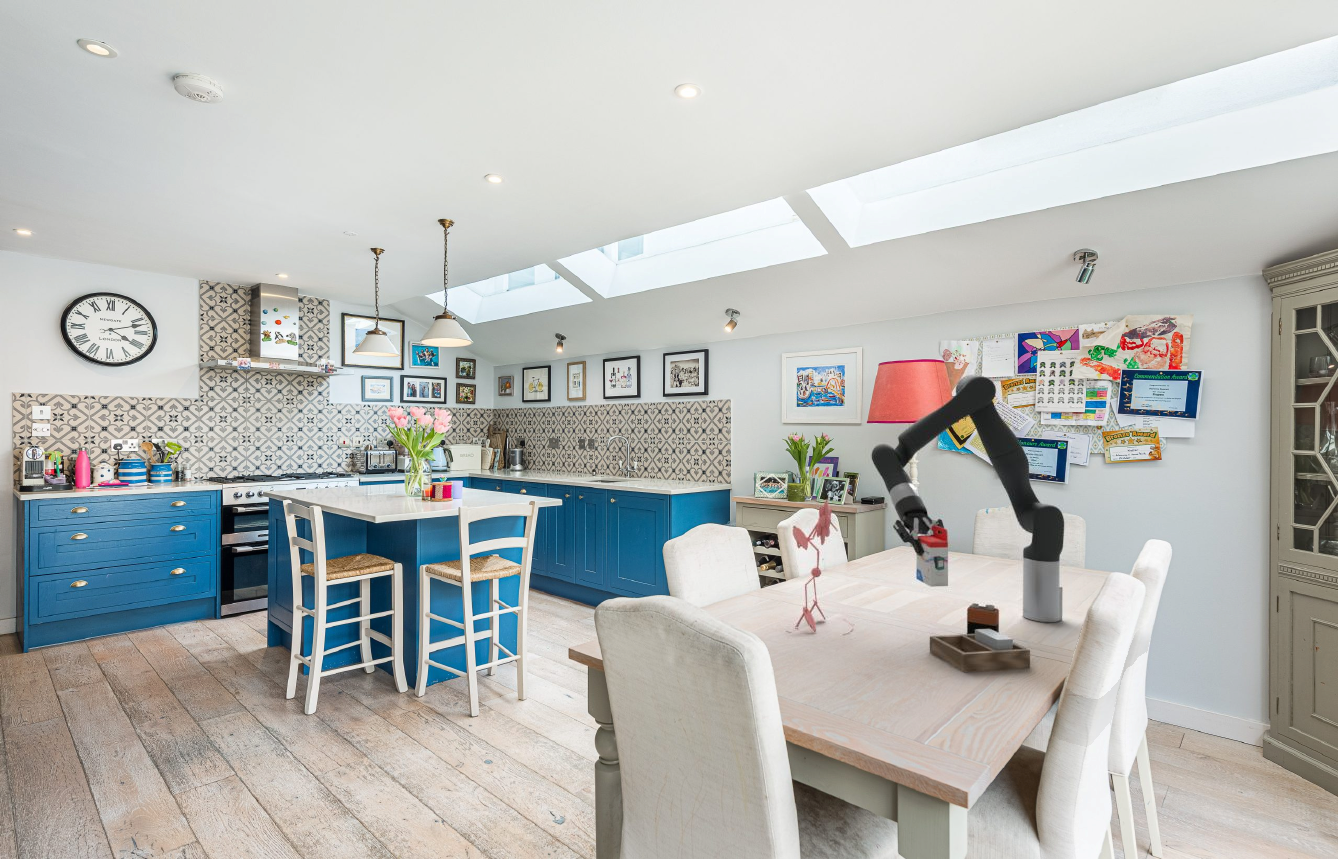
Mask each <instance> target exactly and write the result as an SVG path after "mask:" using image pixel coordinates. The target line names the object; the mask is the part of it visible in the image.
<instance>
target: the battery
mask: <svg viewBox="0 0 1338 859" xmlns="http://www.w3.org/2000/svg"><path fill="white" fill-rule="evenodd" d="M976 629H991V630H994V631H996V632H998V633H1000V631H999V630H1000V610H999V608H996V606H995V605H993V604H985V606H984V605H980V604H979V603H976V602H974V603H972V604H970V605H969V606H968V607H967V610H966V634H975V630H976Z"/></svg>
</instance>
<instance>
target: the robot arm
mask: <svg viewBox="0 0 1338 859" xmlns="http://www.w3.org/2000/svg"><path fill="white" fill-rule="evenodd" d="M996 394H997V388H996V385H995V383H994V381H993V380H992V379H990V378H988V377H987V376H983V375H978V374H969V375H965V376H963V377H962V378H960V379H959V380H958V381H957V384H956V386H955V395H954V396H953V397H951V399H949V400H948V401H947V402H946V403H945V404H943V405H941V406H940V407H939V408H937V409H935V410H933V411H931V412H929V413H928V414H927V415H925V416H922V417H921V418H920V419H917V420H916V421H915V422H914V423H912V425H910V426H909V427H908V428H905V429H904V431H902V432H901V433H900V434H899V435H898V437H897V440H898V444H897V446H896V447H895V448H894V447H893V446H891V445H890V444H888V443H879V444H877V445H876V446H875V447H873V449H872V451H871V460H872V463H873V465H874V467H875V468H876V470H877V472H878V473H879V475H880V477H881V478H882V480H883V482H884V485H885V488H886V490H887V492H888V495H889V496H890V500H891V503H892V505H893V507H894V509H895V511H896V514H897V516H898V518H899V519H896V521H895V522H894V524H893V525H892V527H893V529H894V530H895V532H896V534H897V535H898V536H899V538H900V539H901V540H902V542H903V543H904V544H907V543H909V544H910V545H911V546H912V547H913V550H914V552H915V553H916V555H917V554H918V555H919V556H922V555H923V553H924V549H923V547H922V545H921V543H920V541H919V540H917V539H918V536H919V535H923V536H933V529H932V525H935V526H938V527H941V528H944V529H945V525H944V523H943V520H942V519H941V518H938V519H937V520H934V519H932V518H931V517H930V516H929V514H928V509H927V508H926V505H925V503H924V501H923V499H922V498H921V496H920V493H919V491H918V490H917V488H916V487H915V486H914V484H913V482H912V479H911V478H910V476H909V474H908V472H907V471H906V470H905V469H904V468H905V467H906V466H907V465H908V463H909V462H910V461H912V459H913V457H914V456H915V455H916V454H917V452H918V451H920V450H921V449H923V448H924V447H926V446H927V445H928V444H929V443H931V442H932V441H933V440H934V439H936V438H938V436H940V435H941V434H942V433H944V432H946V431H947V430H948V429H949V428H950V427H952V426H954V424H956V423H958V422H959V421H961V420H963V419H964V418H966V417H969V418H970V419H971V421H972V423H973V425H974V427H975V429H976V432H977V434H978V437H979V439H980V441H981V444H982V446H983V448H984V450H985V453H986V455H987V457H988V459H989V461H990V463H991V465H992V467H993V469H994V471H995V472H996V474H997V476H998V479H999V480H1000V482H1001V484H1002V486H1003V488H1004V490H1005V491H1006V493H1007V496H1008V498H1009V501H1010V504H1011V506H1012V510H1013V512H1014V514H1015V517H1016V520H1017V523H1018V525H1019V526H1020V527H1021V529H1022V530H1024V531H1025V532H1027V533H1029V534H1031V543H1030V544H1029V545H1028V546H1025V547H1024V548H1023V550H1022V616H1023V617H1024V618H1025V619H1027V620H1031V621H1036V622H1040V623H1041V622H1043V623H1056V622H1059V621H1062V620H1063V594H1064V593H1063V586H1061V585H1060V583H1061V582H1060V573H1061V572H1060V570H1061V569H1060V567H1061V566H1060V563H1061V562H1060V560H1061V559H1060V558H1061V557H1060V556H1061V554H1062V552H1063V548H1064V538H1065V534H1064V533H1065V519H1064V518H1065V517H1064V515H1063V512H1062V511H1061V509H1059V507H1057V506H1055V505H1052V504H1048V503H1041V502H1040V500H1039V498H1038V497H1037V495H1036V493H1035V491H1034V490H1033V488H1032V485H1031V482H1030V464H1029V463H1030V462H1029V459H1028V456H1027V453H1026V452H1025V450H1024V448H1023V446H1022V444H1021V441H1020V440H1019V439H1018V437H1017V435H1016V434H1015V433H1014V432H1013V430H1012V429H1011V427H1010V426H1009V425H1008V424H1007V423H1006V422H1005V420H1004V419H1003V418H1002V416H1001V414H1000V413H999V412H998V409H997V408H996V406H995V404H994V399H995V397H996ZM937 532H938V533H939V534H942V532H940V530H939V531H937Z"/></svg>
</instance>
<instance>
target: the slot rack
mask: <svg viewBox="0 0 1338 859" xmlns="http://www.w3.org/2000/svg"><path fill="white" fill-rule="evenodd" d="M929 654H931V655H933V656H935V658H938V659H939V660H940V661H943V662H945V663H947V664H948V665H950V666H952V667H953V668H955V669H957V670H959V671H961V672H962V673H969V672H970V673H973V672H985V671H986V672H988V671H1000V670H1001V671H1002V670H1015V669H1029V668H1031V649H1029V648H1026V647H1024V646H1022V645H1020V644H1018V643H1016V642H1013V650H998V651H996V650H994V649H992V648H990V647H988V646H986V645H984V644H982V643H979V642H977V641H975V634H967V633H965V634H963V633H961V634H948V635H946V634H944V635H929Z"/></svg>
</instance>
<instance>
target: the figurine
mask: <svg viewBox="0 0 1338 859" xmlns="http://www.w3.org/2000/svg"><path fill="white" fill-rule="evenodd" d="M832 510H833V509H832V507H831V506H830V507H829V500H828V498H827V499H825V501H824V504H823V505H820V506H819V509H818V515H819V516H818V521H817V522H816V524H815V526H814V527H813V529H812V530H811V532H810V533H809V535H808V536H806V533H804V531H803V530H802V529H801V528H799V527H798V526H796V525H793V526H792V535H793V538H794V540H795V541H796V546H797V549H800V548H802V549H804V550H806V551H807V550H808V547H809V544H810V545H811V546H812V547H813V548H814V549H815V550H816V556H817V557H816V566H815V567H813V568H812V569H811V571H810V574H811V576H812V577H811V578H810V579H809V580H808V581H807V582H806V583H805V584H804V591H805V592H804V593H805V606H803V607H802V614H801V617H800V618H799V620H798V621H797V623H796V625H795V628H796V627H797V628H798V627H799V625H800V624H801V622H802V620H803V619H804V620H805V621H806V622H807V624H808V625H809V627H810V628H811V630H812V631H813V632H814V633H816V632H817V627H816V625H817V624H816V621H815V619H814V616H813V614H812V611H813V610H814V609H815V606H816V609H817V610H818V612H819V613H820V615H821V616H822V618H823V619H824V621H826V617H825V616H824V614H823V612H822V610H821V608H820V606H819V605H818V603H819V601H818V600H817V589H816V579H815V578H820V576H821V575H822V570H821V569H820V568H819V565H820V564H819V563H820V550H819V548H817V546H816V545H815V544H814V543H813V542H812V540H814V539H815V537H817V538H819V539H820V544H821V546H824V544H825V541H826V538H828V537H829V536H830V534H831V530H830V527H831V526H832V528H833V529H834V530H836V532H838V531H839V530H838V528H836V526H835V525H834V524H833V523H832ZM811 581H813V589H814V598H815V599H812V601H813V604H812V606H811V608H810V610H809V608H808V592H807V591H808V590H807V589H808V588H807V585H809V583H811ZM842 621H845V622H847V623H848V622H849V621H847V620H846V619H842ZM851 626H852V630H851V631H854V630H853V627H854V625H851ZM851 631H849V632H848V633H844V634H842V636H845V635H847V634H848V635H849V634H850V633H851ZM785 632H786V633H790V634H792V632H791V631H787V630H786V631H785Z"/></svg>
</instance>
